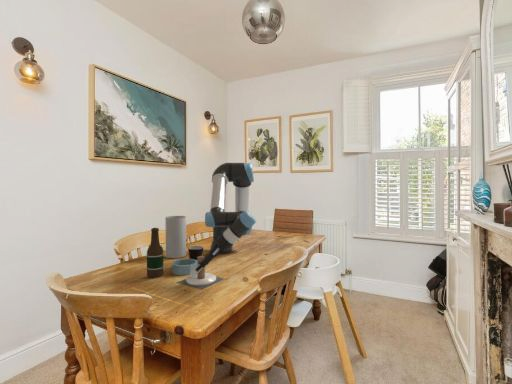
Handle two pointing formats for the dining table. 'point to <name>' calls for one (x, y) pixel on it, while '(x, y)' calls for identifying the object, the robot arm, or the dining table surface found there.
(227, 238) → the robot arm
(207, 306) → the dining table surface
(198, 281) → the lid
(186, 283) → the mat
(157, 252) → the beer bottle
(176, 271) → the bowl
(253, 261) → the dining table surface
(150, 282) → the dining table surface
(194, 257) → the coffee mug
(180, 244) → the cylinder vase
